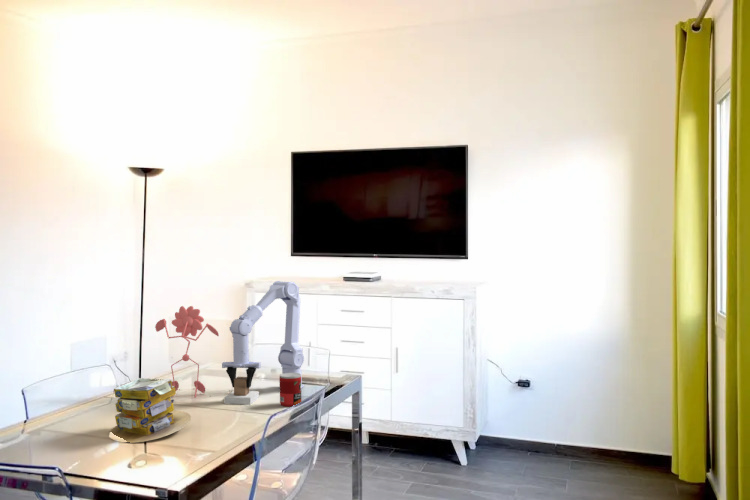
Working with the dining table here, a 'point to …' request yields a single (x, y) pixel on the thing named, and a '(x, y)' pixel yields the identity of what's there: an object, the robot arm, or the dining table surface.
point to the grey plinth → (241, 398)
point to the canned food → (290, 389)
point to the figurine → (186, 325)
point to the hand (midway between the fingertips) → (241, 387)
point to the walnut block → (240, 386)
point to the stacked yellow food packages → (147, 410)
